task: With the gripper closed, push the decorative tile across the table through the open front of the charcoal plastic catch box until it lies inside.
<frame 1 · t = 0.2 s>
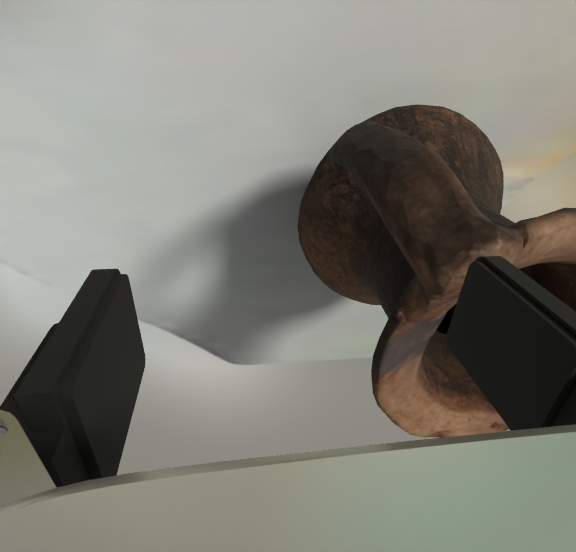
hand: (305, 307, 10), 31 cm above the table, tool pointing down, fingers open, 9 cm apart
jug: (360, 177, 41), on the table
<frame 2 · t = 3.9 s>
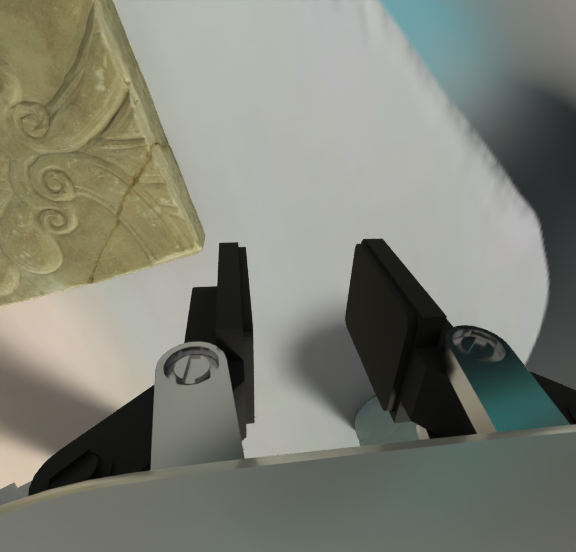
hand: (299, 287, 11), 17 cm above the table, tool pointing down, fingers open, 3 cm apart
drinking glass: (390, 412, 43), on the table
decorative tile: (13, 150, 24), on the table
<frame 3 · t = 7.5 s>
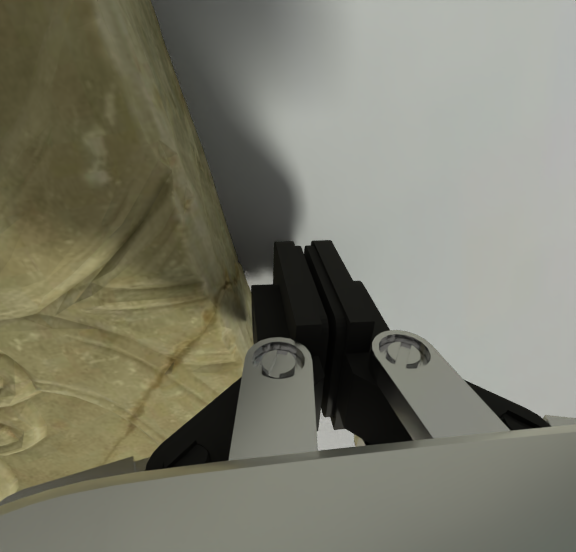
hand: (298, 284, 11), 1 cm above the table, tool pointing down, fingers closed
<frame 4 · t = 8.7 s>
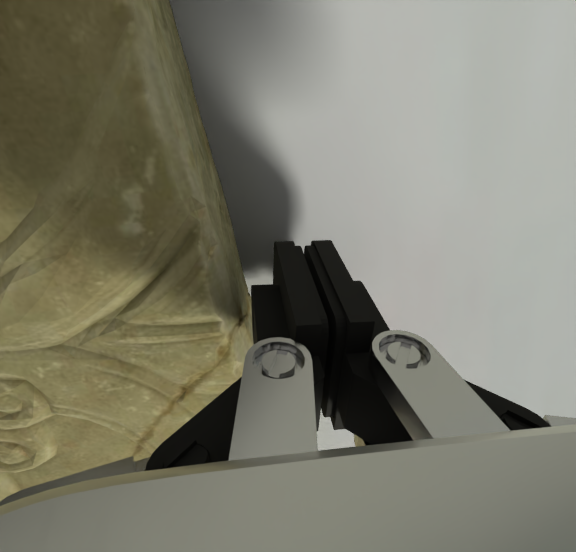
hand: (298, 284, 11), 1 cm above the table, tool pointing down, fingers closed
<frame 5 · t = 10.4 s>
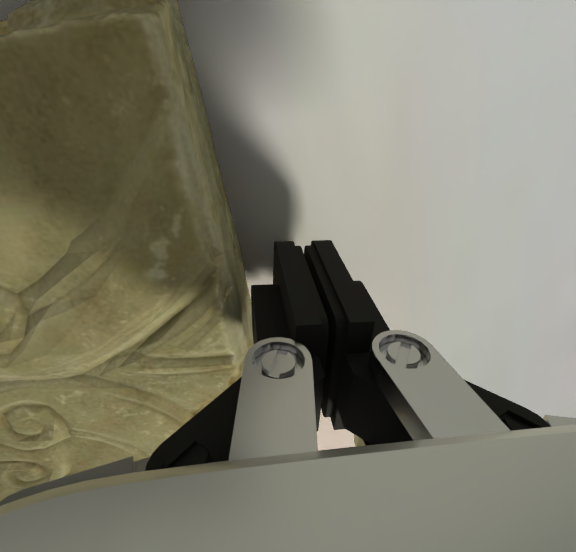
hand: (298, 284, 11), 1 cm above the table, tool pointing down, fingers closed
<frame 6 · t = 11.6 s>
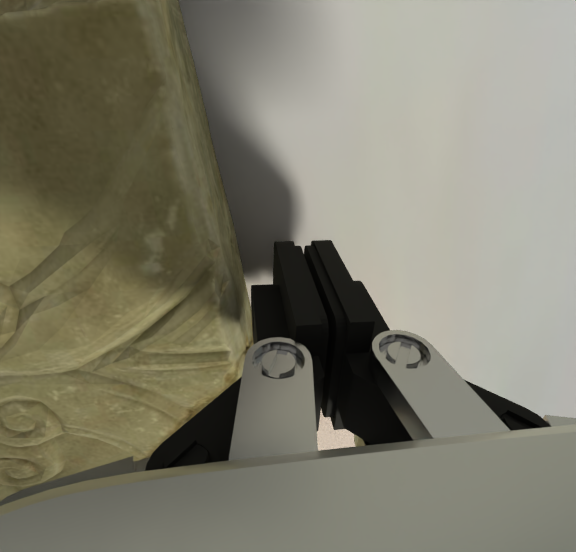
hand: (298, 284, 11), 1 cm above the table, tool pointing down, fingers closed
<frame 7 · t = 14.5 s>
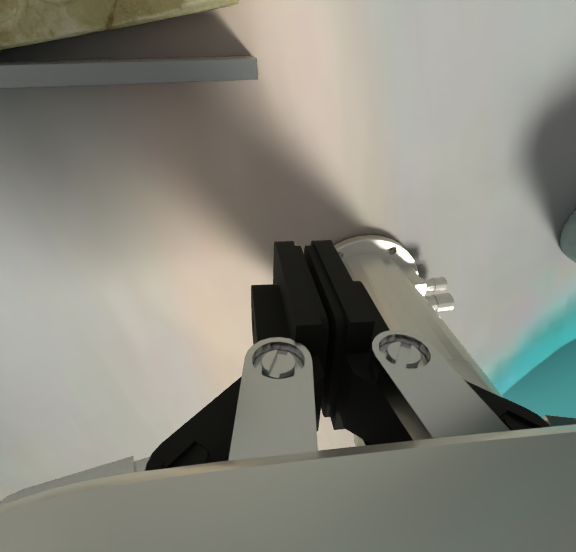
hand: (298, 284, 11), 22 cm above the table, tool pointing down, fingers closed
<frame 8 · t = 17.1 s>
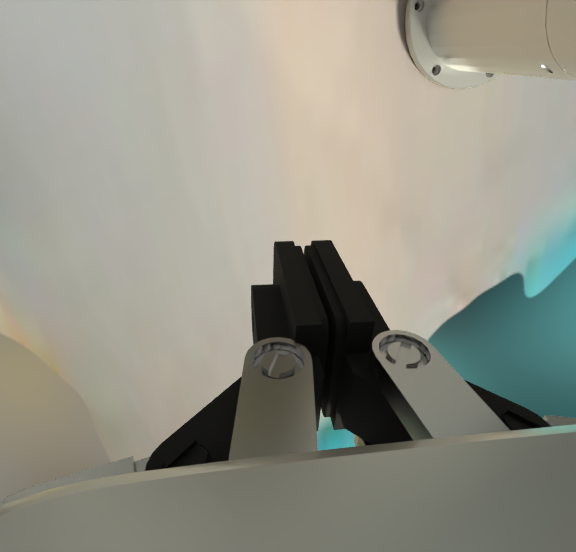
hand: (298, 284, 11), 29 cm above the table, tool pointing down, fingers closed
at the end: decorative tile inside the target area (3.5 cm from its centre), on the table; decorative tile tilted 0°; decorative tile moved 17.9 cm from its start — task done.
